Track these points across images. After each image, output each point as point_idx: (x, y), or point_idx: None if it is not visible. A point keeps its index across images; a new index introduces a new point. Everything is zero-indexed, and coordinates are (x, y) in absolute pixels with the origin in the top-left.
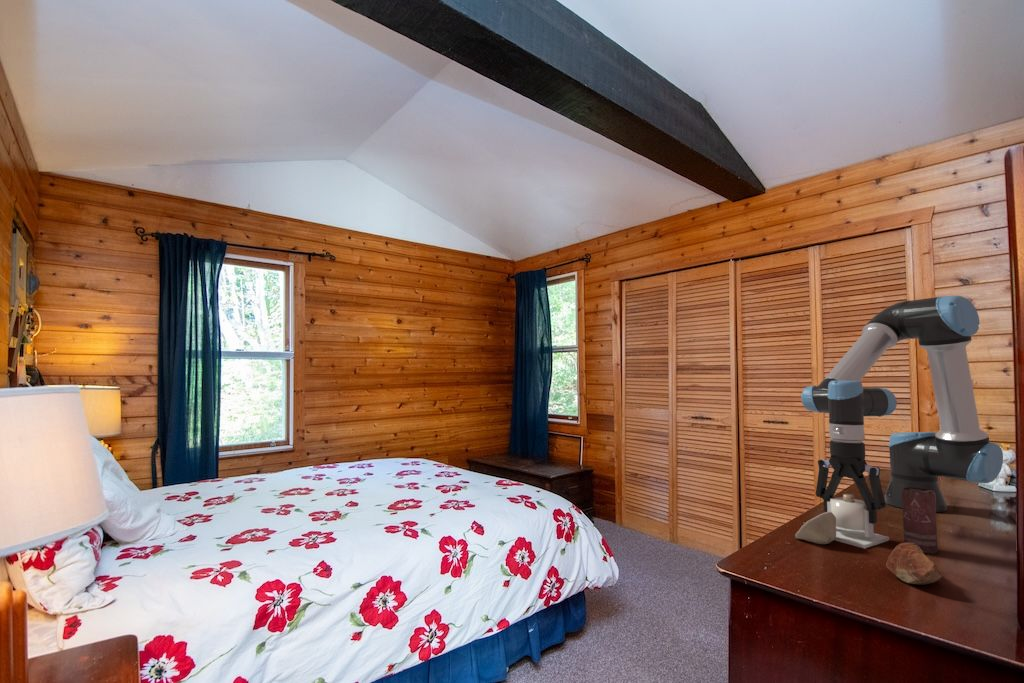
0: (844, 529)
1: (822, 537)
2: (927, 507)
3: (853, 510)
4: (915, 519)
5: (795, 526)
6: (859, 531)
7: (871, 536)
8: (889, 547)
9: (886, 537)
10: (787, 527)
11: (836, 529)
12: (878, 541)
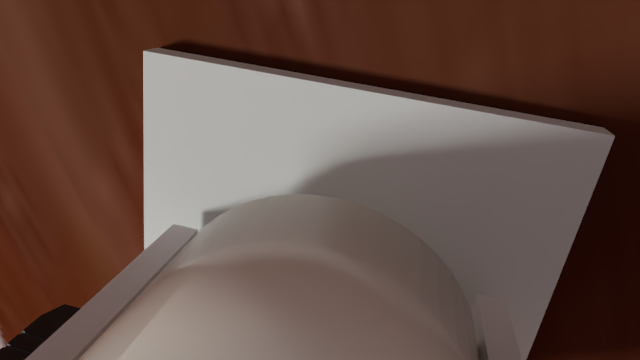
0: (250, 187)
1: None
2: None
3: None
4: None
5: (7, 272)
6: (355, 153)
7: (473, 239)
8: (619, 331)
9: (593, 171)
10: (3, 328)
11: None
12: (540, 311)
